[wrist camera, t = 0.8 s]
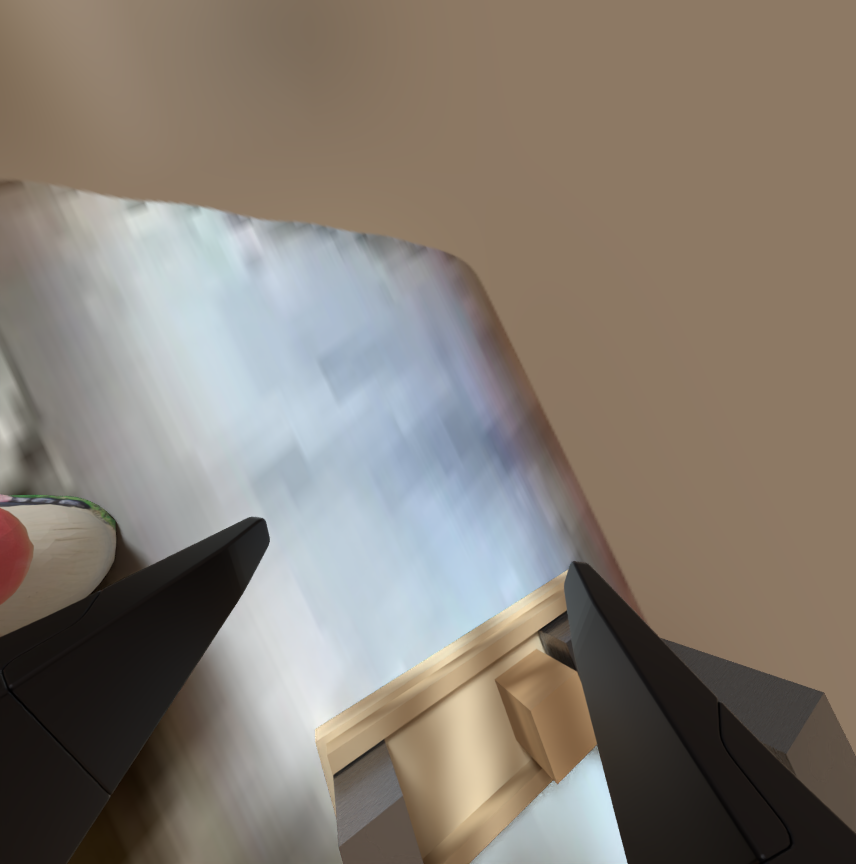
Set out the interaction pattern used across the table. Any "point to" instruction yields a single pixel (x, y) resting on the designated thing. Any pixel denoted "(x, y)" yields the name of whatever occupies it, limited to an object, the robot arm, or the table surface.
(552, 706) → the walnut block
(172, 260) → the table surface
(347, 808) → the block
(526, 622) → the wooden tray
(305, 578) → the table surface
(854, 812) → the block
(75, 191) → the table surface
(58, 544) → the decorative ornament
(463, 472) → the table surface
